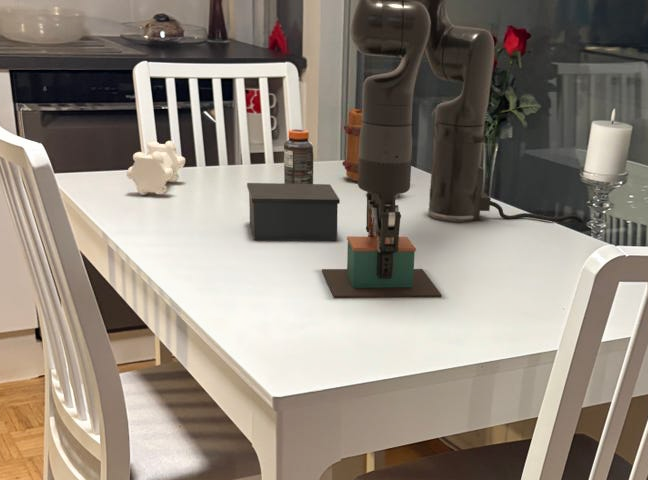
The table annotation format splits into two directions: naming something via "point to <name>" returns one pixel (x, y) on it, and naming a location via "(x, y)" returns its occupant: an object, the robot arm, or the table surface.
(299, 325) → the table surface
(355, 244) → the orange and teal box
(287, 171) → the pill bottle
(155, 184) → the white bone
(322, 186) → the bottom box
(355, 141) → the mug
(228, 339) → the table surface
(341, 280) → the mat
